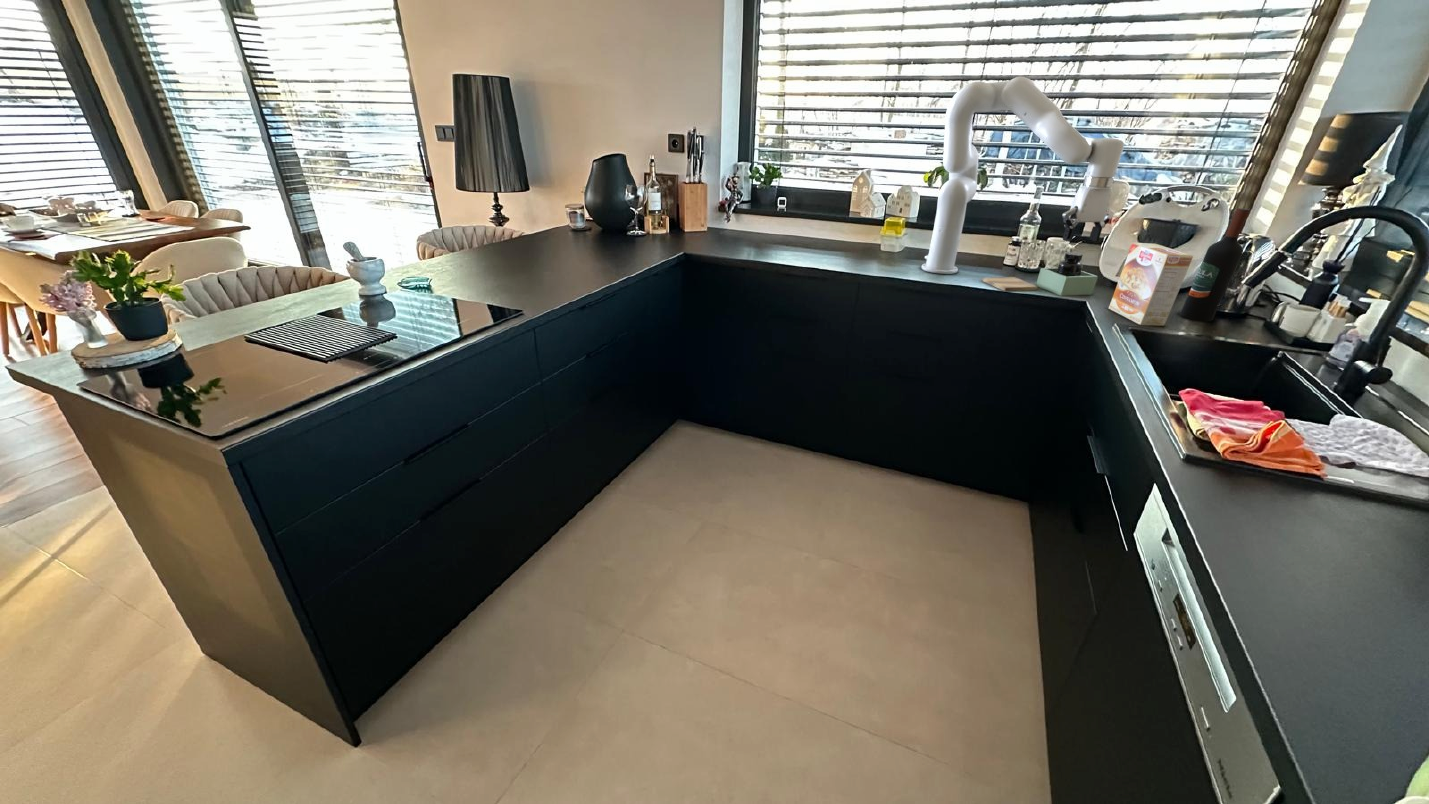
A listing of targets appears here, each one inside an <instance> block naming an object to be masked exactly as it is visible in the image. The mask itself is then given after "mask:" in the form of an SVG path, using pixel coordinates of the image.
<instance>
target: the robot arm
mask: <svg viewBox="0 0 1429 804" xmlns="http://www.w3.org/2000/svg"><path fill="white" fill-rule="evenodd" d="M1007 110H1010V112H1012V113H1013V114H1014V115H1015V116H1016V117H1017V118H1018V119H1019V120H1020V121H1021V122H1023V123H1024V125H1025V126H1027V128H1029V129H1030V131H1031V132H1033V134H1034V135H1035V136H1036V137H1038V138H1039V139H1040V140H1041V141H1042V142H1043V143H1044V145H1045V146H1047V147H1048V148H1049V149H1050V150H1051V152H1052V153H1054V154H1055V155H1056V156H1057V158H1059V159H1060V160H1061V161H1062V162H1064V163H1065V164H1067V165H1072V166H1073V165H1078V164H1083V163H1088V165H1087V168H1086V172H1085V176H1084V179H1083V182H1082V186H1080V187H1079V188H1078V190H1077V191H1076V194H1075V196H1074V197H1073V199H1072V202H1071V206H1070V208H1069V209H1068V210H1067V211H1064V212H1063V213H1062V223H1063V226H1064V228H1065V230H1064V233H1063V237H1062V241H1064V242H1068V243H1071V242H1072V241H1073V238H1074V236H1075V232H1076V228H1075V227H1076V226H1077V225H1078V224H1079V223H1093V224H1094V226H1092V228H1091V231H1090V235H1089V239H1088V240H1090V241H1094V242H1098V241H1100V237H1101V233H1102V231H1103V229H1104V228H1105V227H1106V225H1107V224H1108V223H1110V220H1111V219H1112V217H1113V216H1114V214H1115V213H1114V212H1113V211H1112V210H1110V208H1109V207H1110V204H1111V200H1112V199H1111V198H1112V191H1113V188H1112V187H1113V184H1114V183H1115V182H1116V180H1115V177H1116V174H1117V171H1118V167H1119V164H1120V161H1121V158H1122V155H1123V151H1124V148H1125V144H1126V142H1125V139H1123V138H1119V137H1118V138H1117V137H1100V138H1096V137H1089V136H1083V135H1082V134H1081V133H1080V132H1079V131H1078V130H1077V128H1075V127H1074V126H1073V125H1072V124H1071V123H1070V122H1069V121H1068V120H1067V119H1066V117H1065V116H1063V115H1064V114H1063V113H1062V111H1061V110H1060V107H1058V106H1057V104H1056V103H1054V102H1053V101H1052V100H1051V99H1050V98H1049V97H1048V96H1047V95H1046V94H1044V93H1043V92H1042V90H1040V89H1039V87H1037V86H1036V85H1035V82H1034V81H1033V80H1032V79H1030V78H1028V77H1026V76H1016V77H1014V78H1012V79H1010V80H1005V81H997V82H984V81H974V82H970V83H968V84H966V85H965V86H962V87H961V88H960V89H959V90H958V91H957V92H956V93H954V95H953V96H952V98H951V99H950V101H949V103H948V105H947V108H946V112H945V117H944V118H945V119H944V137H943V155H942V165H943V168H944V170H945V171H946V172H948V180H947V181H945V182H944V183H943V185H942V186H941V187H940V189H939V192H938V196H937V202H936V204H937V205H936V213H935V218H934V223H933V225H934V226H933V230H932V235H931V239H930V245H929V250H928V254H927V255H925V256H924V259H925V260H926V262H924V263H922V264H921V266H920V268H921V269H922V270H923V271H925V272H928V273H933V274H938V275H939V274H940V275H954V274H956V273H958V271H959V268H958V267H957V266H955V264H956V261H957V260H956V259H957V255H958V250H959V245H960V242H961V237H962V233H963V227H964V223H965V218H966V211H967V204H968V203H969V202H971V201H972V200H973V198H974V197H975V196H976V193H977V188H978V174H979V152H978V149H977V148H976V146H975V145H974V144H973V143H972V142H973V141H972V139H973V138H972V137H973V116H974V114H975V113H989V112H997V111H1007Z"/></svg>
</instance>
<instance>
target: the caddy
mask: <svg viewBox="0 0 1429 804" xmlns="http://www.w3.org/2000/svg"><path fill="white" fill-rule="evenodd" d="M1057 269H1058V267H1041V268H1040V270H1039V273H1038V276H1037V280H1036V283H1035V286H1038V288H1040V289H1043V290H1046V291H1048V292H1050V293H1053V294H1056V295H1057V296H1061V297H1065V296H1091V295H1093V292H1094V291H1095V290H1094V289H1095V287H1096V284H1097V281H1098V279H1099V276H1098V275H1095V274H1092V273H1090V272H1086V271H1083V270H1082V271H1081V275H1080V276H1070V277H1067V276H1064V275H1061V274H1058V273H1056V272H1057Z"/></svg>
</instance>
